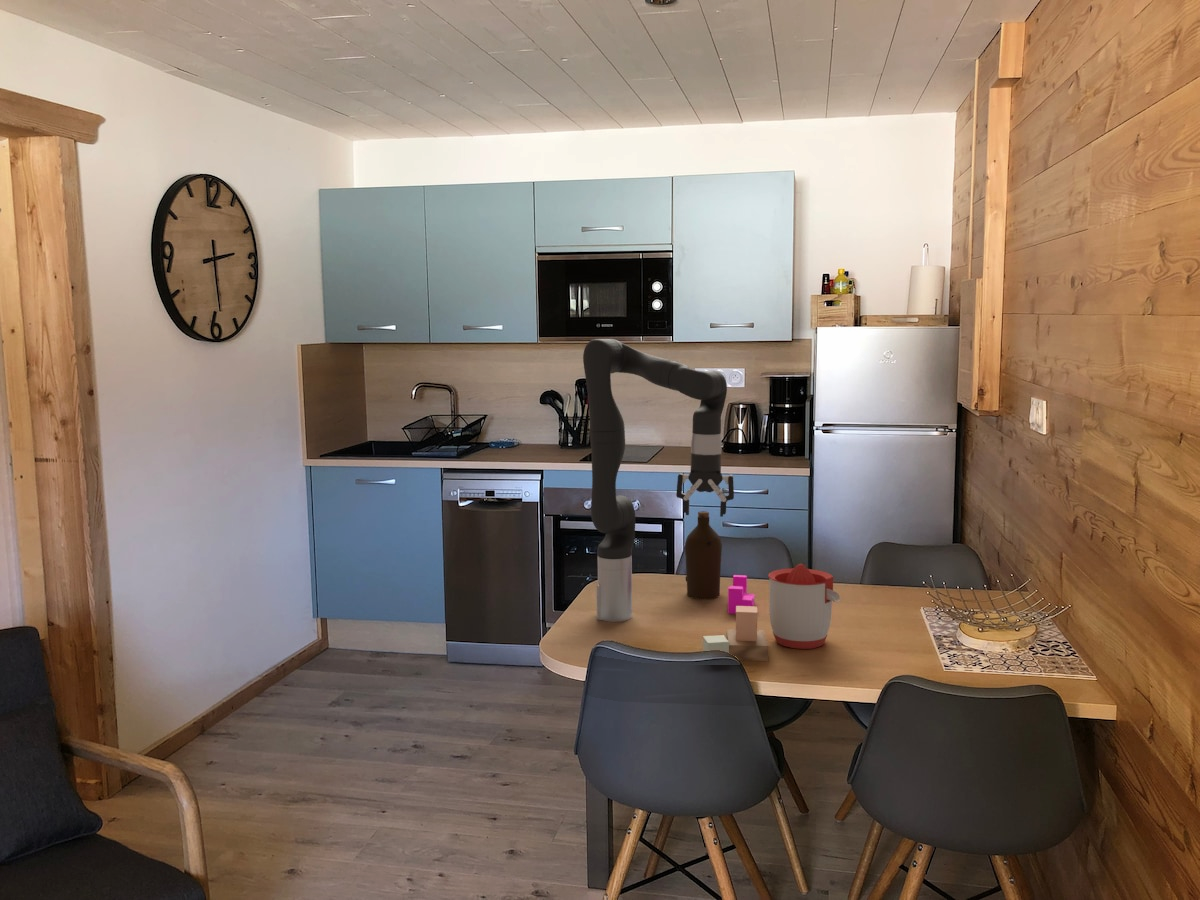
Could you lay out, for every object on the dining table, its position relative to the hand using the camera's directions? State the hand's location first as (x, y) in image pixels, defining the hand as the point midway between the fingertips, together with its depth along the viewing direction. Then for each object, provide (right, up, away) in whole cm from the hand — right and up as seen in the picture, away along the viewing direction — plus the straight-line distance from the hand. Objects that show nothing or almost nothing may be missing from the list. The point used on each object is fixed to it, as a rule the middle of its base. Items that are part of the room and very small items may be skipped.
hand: (704, 515), depth 238 cm
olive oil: (+4, -27, +39) cm, 47 cm away
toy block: (+14, -28, +28) cm, 42 cm away
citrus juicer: (+24, -32, -4) cm, 40 cm away
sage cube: (+1, -33, -15) cm, 36 cm away
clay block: (+9, -29, -10) cm, 32 cm away
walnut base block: (+9, -33, -10) cm, 35 cm away
